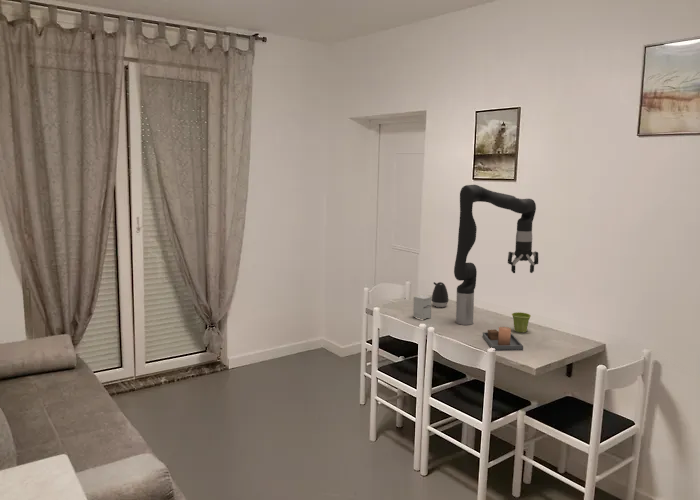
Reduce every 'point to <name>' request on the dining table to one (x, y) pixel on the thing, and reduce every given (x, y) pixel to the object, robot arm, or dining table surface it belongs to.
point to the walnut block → (493, 334)
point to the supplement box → (422, 306)
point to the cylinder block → (504, 336)
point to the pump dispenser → (440, 295)
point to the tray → (494, 344)
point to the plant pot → (520, 321)
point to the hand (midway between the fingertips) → (522, 272)
